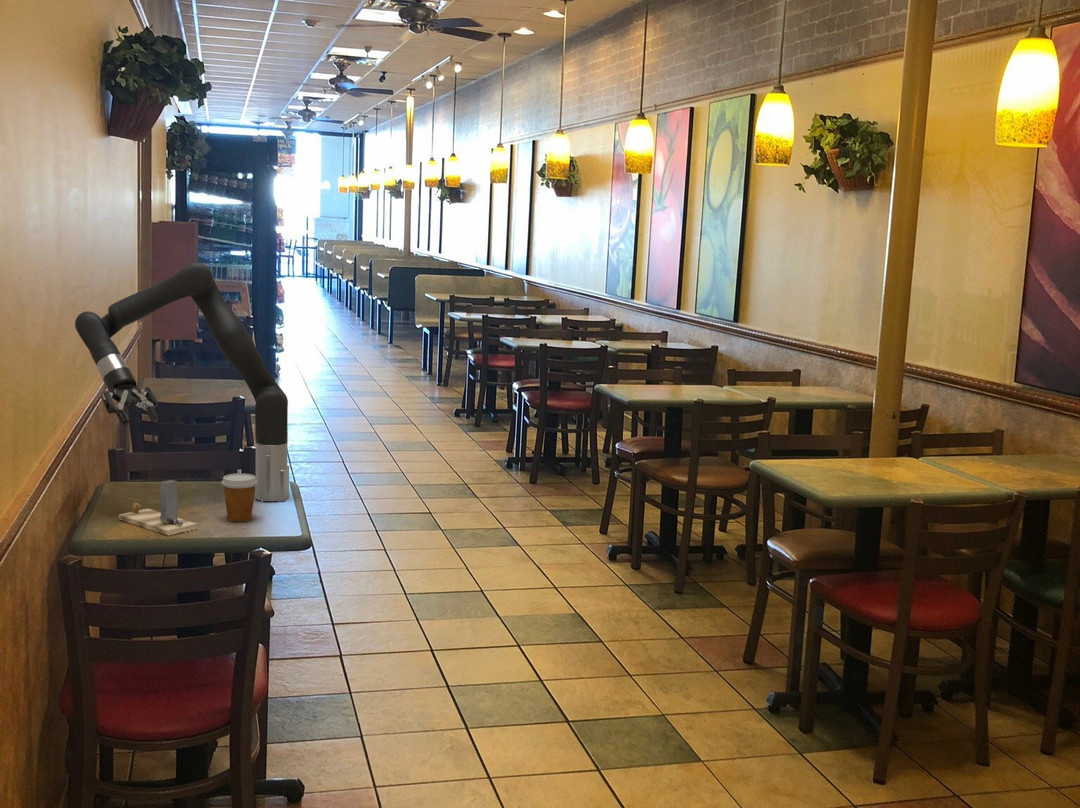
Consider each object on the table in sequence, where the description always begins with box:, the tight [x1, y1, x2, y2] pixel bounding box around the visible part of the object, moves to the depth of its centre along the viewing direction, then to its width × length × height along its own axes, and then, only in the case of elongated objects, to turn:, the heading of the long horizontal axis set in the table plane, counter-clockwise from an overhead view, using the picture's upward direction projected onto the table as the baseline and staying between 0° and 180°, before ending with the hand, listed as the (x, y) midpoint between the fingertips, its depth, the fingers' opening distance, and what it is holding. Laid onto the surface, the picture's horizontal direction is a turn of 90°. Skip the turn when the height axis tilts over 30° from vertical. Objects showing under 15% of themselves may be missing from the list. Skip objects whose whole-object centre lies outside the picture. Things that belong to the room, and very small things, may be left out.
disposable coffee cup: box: [221, 473, 257, 523], centre depth 295 cm, size 10×10×12 cm
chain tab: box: [159, 479, 183, 526], centre depth 283 cm, size 9×4×11 cm, turn 55°
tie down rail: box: [118, 502, 199, 535], centre depth 287 cm, size 22×9×4 cm, turn 55°
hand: (141, 421), depth 287 cm, fingers open, 8 cm apart
